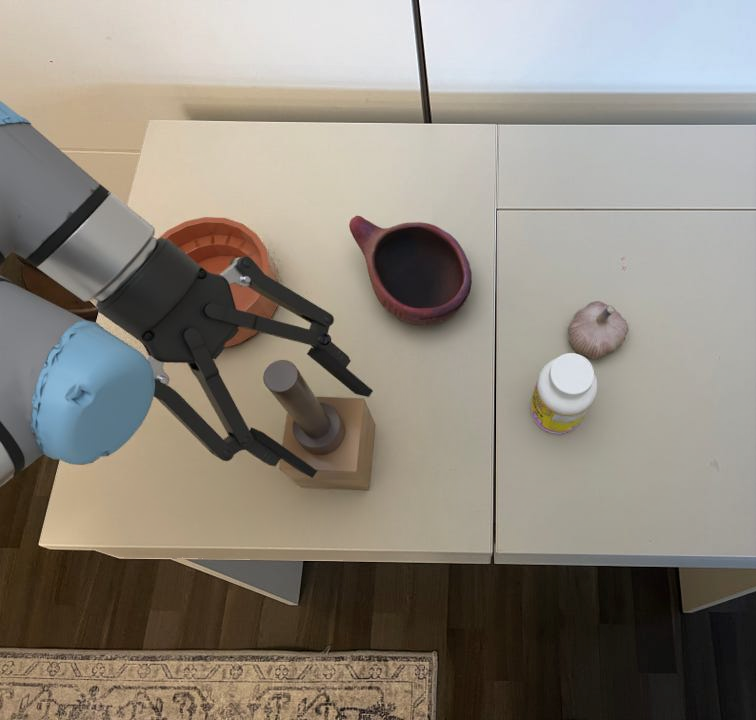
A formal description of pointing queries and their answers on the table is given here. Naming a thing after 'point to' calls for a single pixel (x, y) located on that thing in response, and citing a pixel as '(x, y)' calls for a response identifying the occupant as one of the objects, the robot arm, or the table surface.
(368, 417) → the cube
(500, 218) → the table surface
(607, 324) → the garlic bulb
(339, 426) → the cylinder
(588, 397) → the supplement bottle
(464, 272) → the bowl
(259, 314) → the mixing bowl
